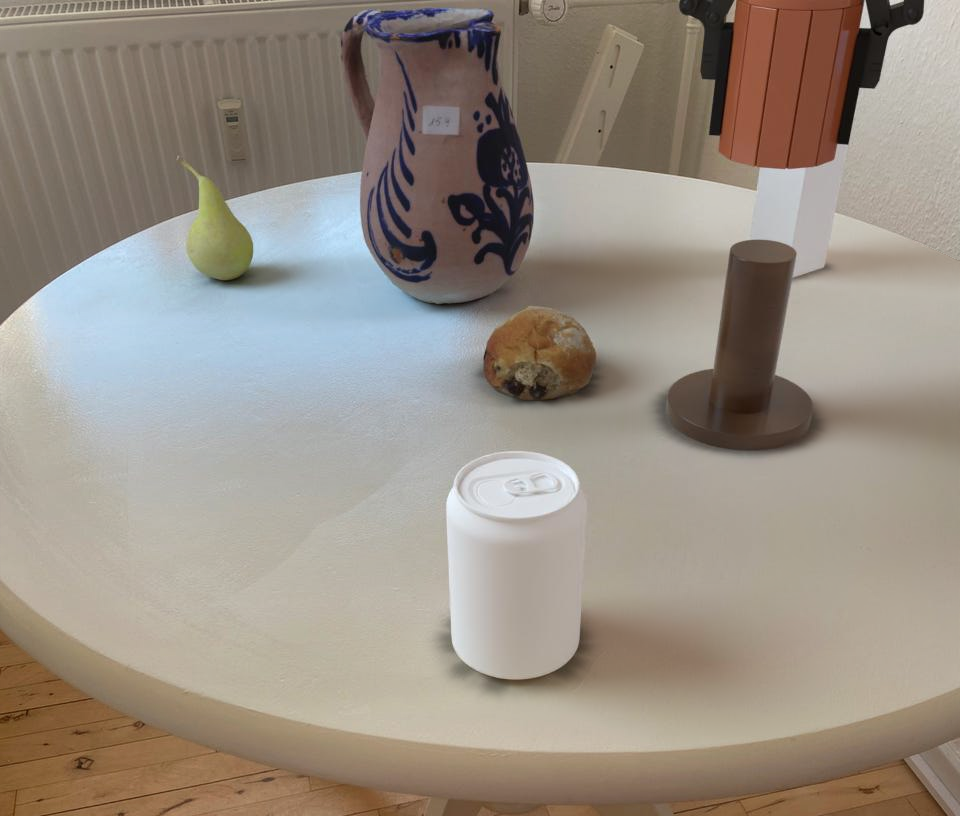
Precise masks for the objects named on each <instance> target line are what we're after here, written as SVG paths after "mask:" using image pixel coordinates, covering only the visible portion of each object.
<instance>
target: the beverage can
mask: <svg viewBox="0 0 960 816" xmlns="http://www.w3.org/2000/svg"><path fill="white" fill-rule="evenodd" d="M448 493H449V494H447V495H448V496H447V499H446V503H445V505H446V506H445V515H446V539H447V563H448V565H447V566H448V584H449V585H448V586H449V607H450V608H449V609H450V611H449V612H450V633H451V644H452V647H453V649H454V652H455V653H456V654H457V656H458V657H459V658H460V659H461V661H462V662H464V663H465V664H466V665H467V666H468V667H470V668H471V669H473V670H474V671H477V672H478V673H481V674H484V675H485V676H490V677H493V678H497V679H502V680H504V679H505V680H529V679H534V678H539V677H542V676H545V675H548V674H551V673H552V672H553V673H554V672H555V671H557V670H559V669H561V668H562V667H563V666H565V665H566V664H567V663H568V662H569V661H570V660H571V659H572V658H573V657H574V655H575V654H576V652H577V650H578V648H579V644H580V638H581V637H580V636H581V635H580V634H581V620H582V619H581V618H582V604H583V602H582V601H583V584H584V571H585V570H584V569H585V551H586V537H587V536H586V535H587V519H588V501H587V497H586V495H585V492H584V490H583V489H582V487H581V483H580V478H579V476H578V475H577V473H576V471H575V470H574V469H573V468H572V467H571V466H570V465H568V464H567V463H566V462H564V461H562V460H561V459H558V458H555V457H554V456H551V455H548V454H544V453H539V452H535V451H524V450H509V451H500V452H494V453H490V454H486V455H483V456H480V457H477V458H475V459H472V460H471V461H469V462H468V463H466V464H465V465H464V466H463V467H461V469H459V471H458V472H457V474H456V476H455V478H454V481H453V486H452V487H451V489H450V491H449V492H448Z"/></svg>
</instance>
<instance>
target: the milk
mask: <svg viewBox="0 0 960 816" xmlns="http://www.w3.org/2000/svg"><path fill="white" fill-rule="evenodd" d="M848 149H849V145H844V144H837V150H836V154H835V159H834V160H833V161H830V162H828V163H825V164H822V165H820V166H817V167H816V166H815V167H809V168H797V169H787V168H786V169H774V168H761V167H759V173H758V179H757V185H756V186H757V187H756V193H755V199H754V204H753V205H754V206H753V212H752V218H751V225H750V232H749V239H748V240H771V241H777V242H781V243H784V244H787V245H789V246H791V247H792V248H794V249H795V251H796V253H797V256H796V261H795V267H794V272H793V278H792V279H794V278H796V277H799V276H803V275H805V274H808V273H811V272H814V271H818V270H820V269H823V268H825V266H826V265H825V264H826V260H827V254H828V249H829V245H830V240H831V234H832V230H833V225H834V218H835V216H836V215H835V214H836V209H837V204H838V199H839V194H840V189H841V183H842V179H843V174H844V168H845V163H846V159H847V155H848Z"/></svg>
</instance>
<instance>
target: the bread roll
mask: <svg viewBox="0 0 960 816" xmlns="http://www.w3.org/2000/svg"><path fill="white" fill-rule="evenodd" d="M596 362H597V352H596V349H595V347H594V343H593V342H592V340H591V338H590V336H589V334H588V333H587V331H586V329H585V328H584V327H583V325H582V324H581V323H579V321H577V320H576V319H575V318H574V317H573V316H571V315H570V314H568V313H567V312H564V311H562V310H560V309H558V308H557V309H556V308H553V307H546V306H538V305H528V306H527V307H525V308H524V309H523V310H519V311H518V312H516V313H514V314H512V315H511V316H509V317H508V318H507V319H506V320H504V322H503V323H502V324H500V325H498V326H496V327H495V328H494V330H493V331H492V333H491V335H490V336H489V338H488V340H487V341H486V346H485V350H484V354H483V374H484V377H485V379H486V382H487V383H488V384H489V385H490V386H491V388H493V390H495V391H496V392H498V393H501V394H504V395H506V396H509V397H510V398H513V399H515V398H516V399H518V400H521V401H541V400H542V401H543V400H544V401H545V400H554V399H558V398H561V397H566V396H571V395H574V394H577V393H578V392H579V390H582V389H583V388H585V387H586V386H587V385H588V384H589V383H590V380H591V379H592V376H593V373H594V369H595V366H596Z"/></svg>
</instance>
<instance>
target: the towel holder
mask: <svg viewBox="0 0 960 816" xmlns="http://www.w3.org/2000/svg"><path fill="white" fill-rule="evenodd" d="M728 253H729V254H728V261H727V266H726V267H727V268H726V273H725V274H726V275H725V281H724V288H723V295H722V296H723V297H722V302H721V303H722V306H721V310H720V311H721V312H720V319H719V324H718V333H717V340H716V346H715V355H714V362H713V368H708V369H707V368H706V369H703V370H698V371H694V372H690V373H689V374H686V375H684V376H682V377H680V378H679V379H677V380H676V381H675V382H673V383H672V384H671V386H670V388H669V390H668V391H667V397H666V405H665V416H666V418H667V420H668V422H669V424H670V425H671V426H672V427H673V428H674V429H675V430H677V431H678V432H679V433H680V434H682V435H684V436H686V437H687V438H689V439H691V440H693V441H697V442H698V443H701V444H704V445H707V446H710V447H714V448H719V449H725V450H731V451H732V450H733V451H748V452H749V451H766V450H772V449H777V448H781V447H784V446H787V445H790V444H792V443H794V442H797V441H798V440H799V439H801V438H802V437H804V435H805V434H807V432H808V430H809V428H810V425H811V420H812V415H813V411H814V404H813V401H812V398H811V397H810V395H809V394H808V393H807V391H806V390H804V389H803V388H802V387H800V386H799V385H798V384H797V383H795V382H793V381H791V380H789V379H787V378H784V377H783V376H779V375H777V374H776V372H777V366H778V360H779V357H780V349H781V344H782V338H783V333H784V327H785V322H786V316H787V311H788V306H789V300H790V299H789V298H790V294H791V289H792V283H793V279H794V278H793V272H794V267H795V261H796V256H797V253H796V251H795V249H794V248H792V247H791V246H789V245H787V244H784V243H781V242H777V241H771V240H749V239H747V240H741V241H739V242H735V243H734V244H732V246H730V248H729V252H728Z"/></svg>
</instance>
